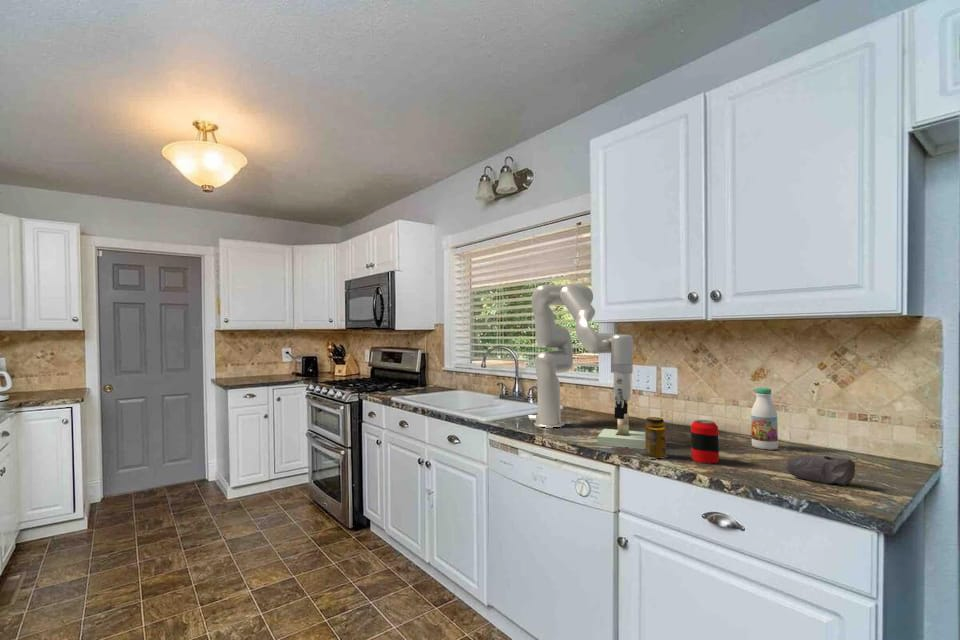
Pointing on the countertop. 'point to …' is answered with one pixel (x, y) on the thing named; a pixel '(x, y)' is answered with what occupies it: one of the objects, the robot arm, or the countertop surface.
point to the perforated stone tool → (822, 469)
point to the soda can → (704, 441)
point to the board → (622, 439)
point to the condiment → (654, 438)
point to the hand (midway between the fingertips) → (621, 416)
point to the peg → (623, 426)
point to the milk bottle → (764, 421)
